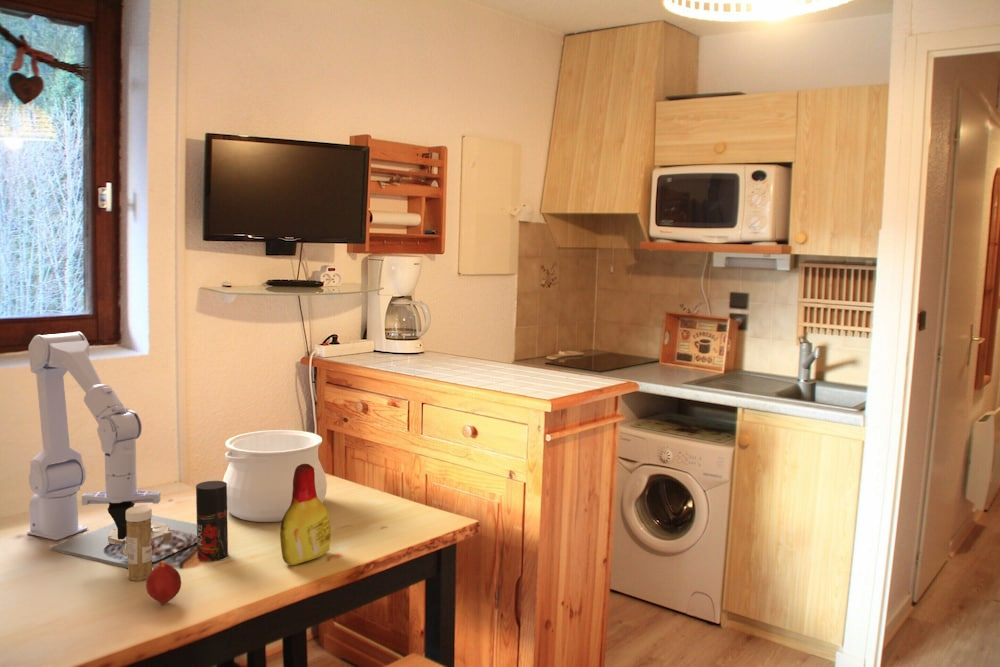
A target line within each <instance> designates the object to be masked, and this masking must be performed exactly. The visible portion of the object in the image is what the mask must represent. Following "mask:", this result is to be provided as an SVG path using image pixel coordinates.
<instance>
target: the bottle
mask: <svg viewBox="0 0 1000 667" xmlns="http://www.w3.org/2000/svg"><path fill="white" fill-rule="evenodd" d="M280 522H281V523H280V529H279V539H280V549H281V555H282V556H281V557H282V559H283V562H284V563H285V564H287V565H288V566H294V565H295V566H296V565H299V564H301V563H304V562H308V561H311V560H315V559H317V558H318V559H319V557H321V556H324V555H325V554H326V553H327V552H329V550H330V545H331V541H332V540H331V531H332V530H331V522H330V515H329V511H328V509H327V507H326V506H325V504H324V502H323V503H322V502H321V501H320V500H319V499H318V498H317V495H316V489H315V473H314V468H313V467H312V466H311V465H309V464H301V465H299V466H297V468H296V469H295V473H294V478H293V493H292V502H291V505H290V507H289V509H288V510H287V511H286V513H285V515H284V517H283V519H282V521H280Z"/></svg>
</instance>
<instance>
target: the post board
mask: <svg viewBox="0 0 1000 667" xmlns="http://www.w3.org/2000/svg"><path fill="white" fill-rule="evenodd" d="M152 521H153V522H159V523H163V524H166V525H168V526H169V530H181V531H186V532H189V533H192V534H194V535H196V536H197V523H193V522H188V521H184V520H183V521H182V520H176V519H173V518H168V517H161V516H157V515H153V514H152V517H151V522H152ZM114 528H117V526H116V524H115V522H114V523H112V524H109V525H106V526H104V527H101V528H97V529H95V530H92V531H89V532H87V533H85V534H82V535H79V536H76V537H74V538H71V539H68V540H65V541H63V542H60V543H57V544H54V545H52V546H50V548H49V550H50V551H54V552H58V553H61V554H66V555H70V556H74V557H80V558H84V559H87V560H88V559H89V560H91V561H92V560H93V561H97V562H101V563H104V564H109V565H114V566H117V567H122V568H126V569H128V561H118V560H115V559H111V558H109V557H107V556H105V555H104V554H103V549H104V548H105V547H106V546H107V545H109V544H111V543H109V542H108V536H109V534H110V532H111V530H113V529H114Z"/></svg>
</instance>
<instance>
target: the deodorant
mask: <svg viewBox="0 0 1000 667" xmlns="http://www.w3.org/2000/svg"><path fill="white" fill-rule="evenodd" d="M195 492H196V493H195V496H196V497H195V498H196V500H195V501H196V524H197V545H196V546H197V547H196V549H197V550H196V551H197V552H196V553H197V557H196V558H197V560H198V559H199V560H198V561H200V562H205V563H213V562H218V561H223V560H224V559H227V557H228V556H229V541H228V540H229V538H228V536H229V534H228V533H229V532H228V528H229V527H228V510H227V483H226V482H223V480H209V481H202V482H199V483H198V484H196V486H195Z"/></svg>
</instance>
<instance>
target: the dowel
mask: <svg viewBox="0 0 1000 667" xmlns="http://www.w3.org/2000/svg"><path fill="white" fill-rule="evenodd" d="M171 541H172V531H165V532H163V543H169V542H171Z"/></svg>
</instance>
